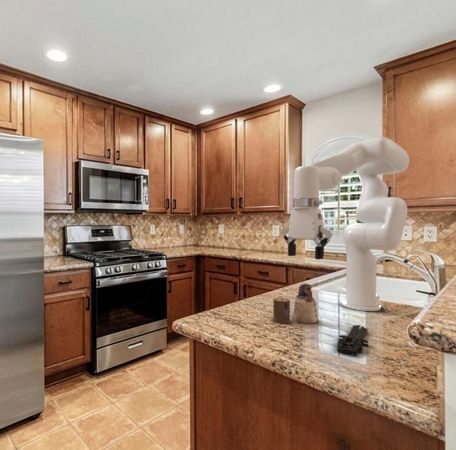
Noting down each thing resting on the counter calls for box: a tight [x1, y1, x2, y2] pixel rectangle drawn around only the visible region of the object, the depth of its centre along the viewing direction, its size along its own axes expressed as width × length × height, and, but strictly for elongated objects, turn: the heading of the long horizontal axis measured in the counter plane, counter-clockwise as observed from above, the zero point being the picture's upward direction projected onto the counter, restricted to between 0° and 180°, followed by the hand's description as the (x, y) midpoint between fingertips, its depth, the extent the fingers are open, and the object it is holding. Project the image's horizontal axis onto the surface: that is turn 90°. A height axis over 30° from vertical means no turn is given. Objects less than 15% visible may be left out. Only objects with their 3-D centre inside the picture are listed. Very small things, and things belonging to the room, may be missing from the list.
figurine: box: [292, 283, 319, 324], centre depth 102 cm, size 7×7×12 cm
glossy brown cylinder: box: [272, 297, 291, 325], centre depth 101 cm, size 5×5×7 cm
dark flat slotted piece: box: [336, 324, 369, 357], centre depth 85 cm, size 25×6×1 cm, turn 135°
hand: (305, 257), depth 101 cm, fingers open, 9 cm apart
